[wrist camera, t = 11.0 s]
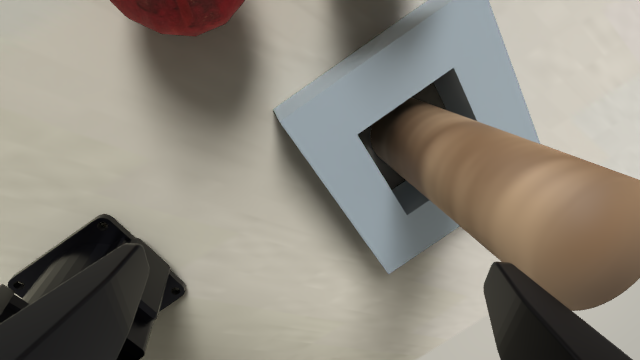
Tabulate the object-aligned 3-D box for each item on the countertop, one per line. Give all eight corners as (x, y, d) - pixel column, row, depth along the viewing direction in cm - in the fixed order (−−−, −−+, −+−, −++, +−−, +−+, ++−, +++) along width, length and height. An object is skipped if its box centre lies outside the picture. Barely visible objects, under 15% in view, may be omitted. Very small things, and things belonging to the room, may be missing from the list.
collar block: (371, 247, 24) (388, 274, 22) (272, 109, 20) (279, 121, 17) (512, 150, 24) (548, 166, 21) (446, -13, 19) (481, -20, 17)
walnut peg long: (389, 176, 23) (560, 333, 11) (358, 124, 21) (518, 242, 9) (444, 139, 23) (677, 256, 11) (417, 83, 21) (656, 149, 9)
